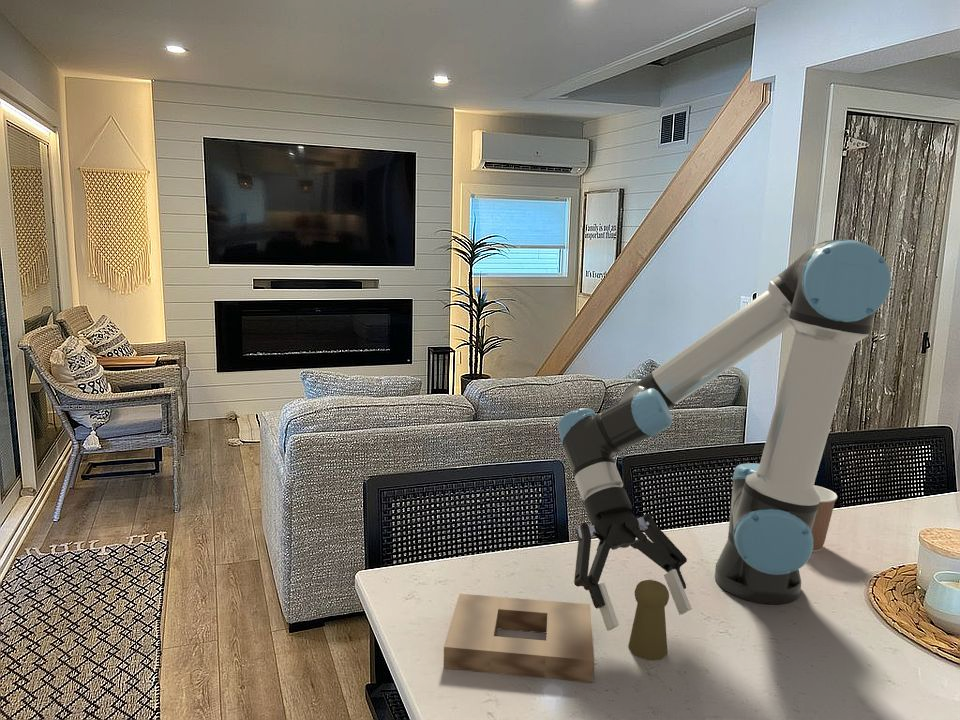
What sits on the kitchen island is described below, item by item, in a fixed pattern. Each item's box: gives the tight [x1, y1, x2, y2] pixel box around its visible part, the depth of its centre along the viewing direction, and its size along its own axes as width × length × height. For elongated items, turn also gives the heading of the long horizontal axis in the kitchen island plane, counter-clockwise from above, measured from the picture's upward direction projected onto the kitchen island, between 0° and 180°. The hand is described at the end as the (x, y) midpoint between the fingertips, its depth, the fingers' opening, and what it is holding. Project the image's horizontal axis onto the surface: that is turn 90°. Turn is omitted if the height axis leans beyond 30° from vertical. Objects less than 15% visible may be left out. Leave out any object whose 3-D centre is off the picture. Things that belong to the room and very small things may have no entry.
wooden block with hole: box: [443, 593, 595, 683], centre depth 112 cm, size 22×16×4 cm
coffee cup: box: [811, 484, 838, 553], centre depth 151 cm, size 10×10×12 cm
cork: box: [627, 579, 670, 661], centre depth 111 cm, size 6×6×11 cm
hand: (650, 620), depth 110 cm, fingers open, 13 cm apart
